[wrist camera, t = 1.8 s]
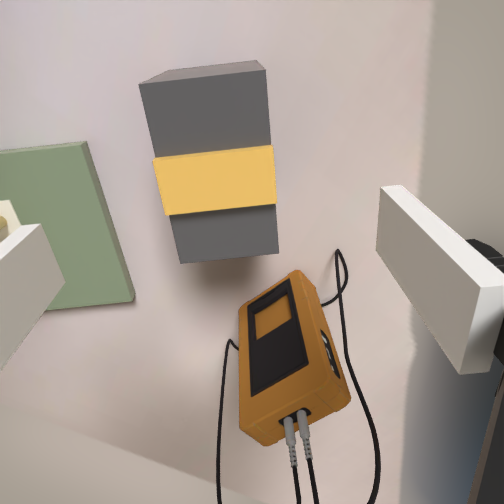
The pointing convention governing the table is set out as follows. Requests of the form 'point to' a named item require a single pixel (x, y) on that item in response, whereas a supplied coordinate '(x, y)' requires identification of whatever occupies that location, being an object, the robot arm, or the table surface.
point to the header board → (66, 220)
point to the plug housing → (214, 159)
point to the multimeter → (290, 370)
